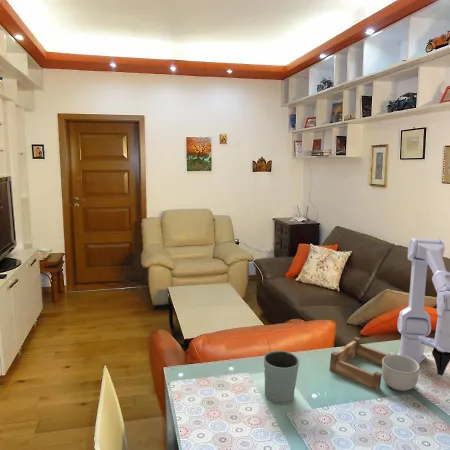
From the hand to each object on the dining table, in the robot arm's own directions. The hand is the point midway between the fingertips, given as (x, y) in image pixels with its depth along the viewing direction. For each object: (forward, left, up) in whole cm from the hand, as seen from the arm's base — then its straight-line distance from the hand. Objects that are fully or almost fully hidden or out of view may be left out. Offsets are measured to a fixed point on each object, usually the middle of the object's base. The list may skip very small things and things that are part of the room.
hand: (440, 373), depth 127 cm
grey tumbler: (+33, -34, -9) cm, 49 cm away
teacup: (0, -12, -9) cm, 15 cm away
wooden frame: (0, -22, -8) cm, 24 cm away
